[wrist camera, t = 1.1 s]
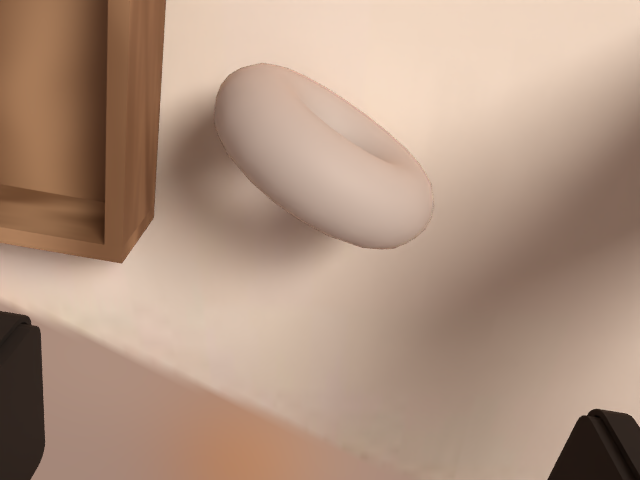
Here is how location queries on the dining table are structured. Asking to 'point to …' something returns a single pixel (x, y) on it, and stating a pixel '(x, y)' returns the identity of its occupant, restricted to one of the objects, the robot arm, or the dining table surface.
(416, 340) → the dining table surface
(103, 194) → the walnut box
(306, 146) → the donut
